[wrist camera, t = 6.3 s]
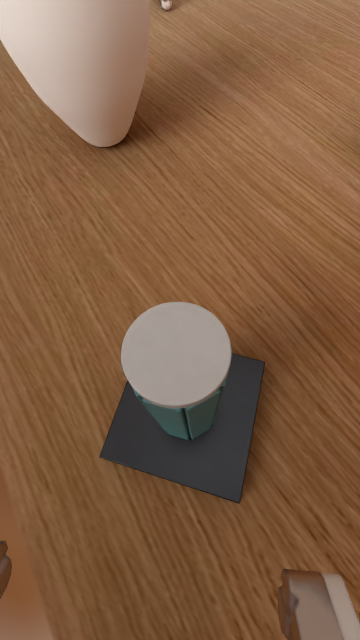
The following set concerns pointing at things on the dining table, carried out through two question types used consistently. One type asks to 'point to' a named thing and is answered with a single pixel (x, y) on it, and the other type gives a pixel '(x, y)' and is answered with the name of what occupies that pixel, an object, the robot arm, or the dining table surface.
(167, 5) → the dog figurine
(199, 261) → the dining table surface
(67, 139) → the dining table surface
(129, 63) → the vase
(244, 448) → the black peg stand
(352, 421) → the dining table surface
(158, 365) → the teal ribbed pillar
